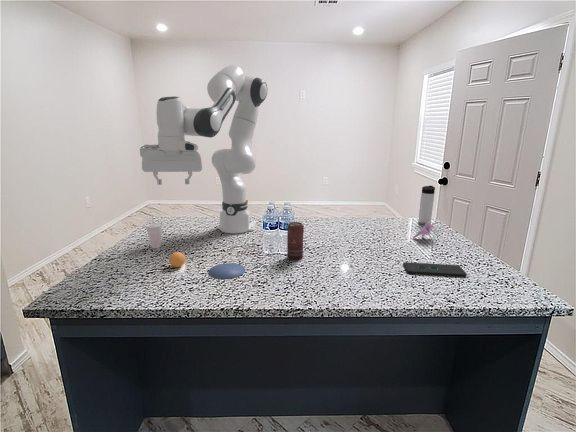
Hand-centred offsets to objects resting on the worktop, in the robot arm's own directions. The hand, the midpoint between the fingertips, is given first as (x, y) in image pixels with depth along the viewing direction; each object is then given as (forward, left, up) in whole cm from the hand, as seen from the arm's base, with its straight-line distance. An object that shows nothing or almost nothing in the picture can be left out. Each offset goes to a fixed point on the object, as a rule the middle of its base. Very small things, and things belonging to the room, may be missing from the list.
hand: (173, 184), depth 122 cm
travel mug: (-73, +103, -30) cm, 130 cm away
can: (-12, +43, -30) cm, 54 cm away
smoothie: (-12, -17, -30) cm, 36 cm away
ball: (+5, +2, -27) cm, 27 cm away
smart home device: (-10, +94, -30) cm, 99 cm away
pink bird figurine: (-45, +98, -30) cm, 112 cm away
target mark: (+5, +21, -30) cm, 37 cm away
